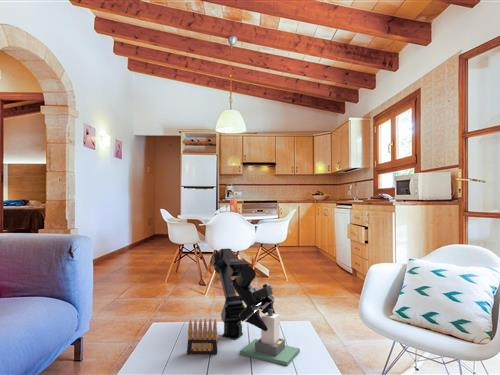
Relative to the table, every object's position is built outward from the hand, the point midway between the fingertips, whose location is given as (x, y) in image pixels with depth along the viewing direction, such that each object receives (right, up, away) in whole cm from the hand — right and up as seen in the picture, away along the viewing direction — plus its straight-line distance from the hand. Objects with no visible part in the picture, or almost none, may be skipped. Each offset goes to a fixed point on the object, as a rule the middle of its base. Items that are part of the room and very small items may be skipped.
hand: (272, 326), depth 118 cm
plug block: (-1, -8, 0) cm, 8 cm away
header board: (-1, -9, 0) cm, 9 cm away
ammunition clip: (-25, -10, -1) cm, 27 cm away
